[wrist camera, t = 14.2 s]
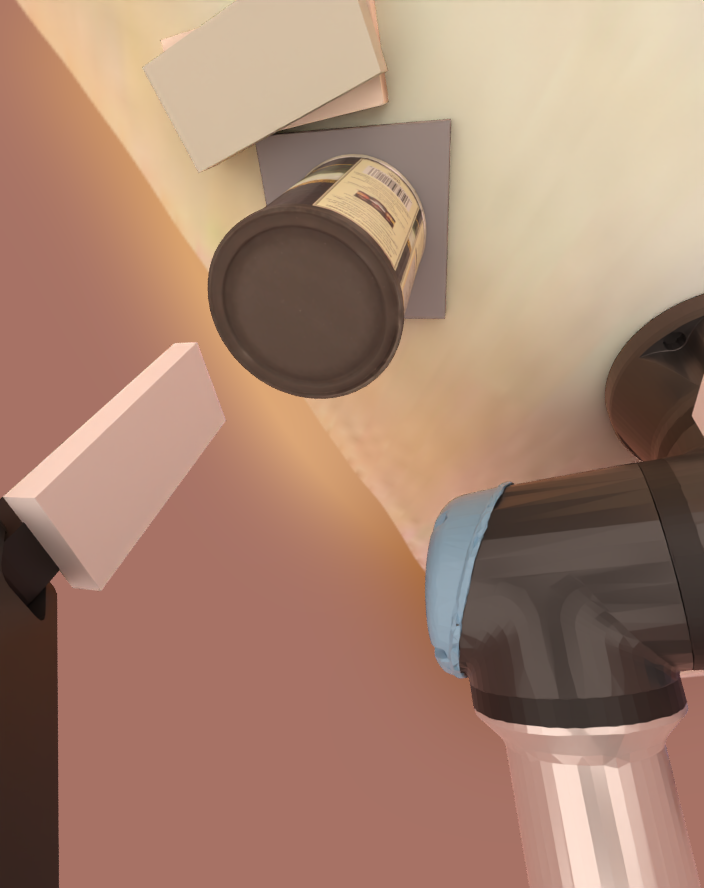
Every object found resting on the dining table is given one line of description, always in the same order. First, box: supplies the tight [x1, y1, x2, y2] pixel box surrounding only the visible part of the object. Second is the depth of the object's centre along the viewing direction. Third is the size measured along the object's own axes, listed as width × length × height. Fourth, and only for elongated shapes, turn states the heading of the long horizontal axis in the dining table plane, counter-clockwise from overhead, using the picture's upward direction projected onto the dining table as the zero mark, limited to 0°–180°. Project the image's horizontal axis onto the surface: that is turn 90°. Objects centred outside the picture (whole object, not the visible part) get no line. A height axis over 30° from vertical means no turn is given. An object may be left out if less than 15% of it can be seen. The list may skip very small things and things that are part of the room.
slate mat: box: [256, 119, 451, 319], centre depth 36 cm, size 13×13×1 cm
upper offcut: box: [142, 0, 388, 173], centre depth 29 cm, size 6×13×2 cm, turn 114°
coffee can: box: [208, 154, 426, 399], centre depth 30 cm, size 10×10×14 cm
